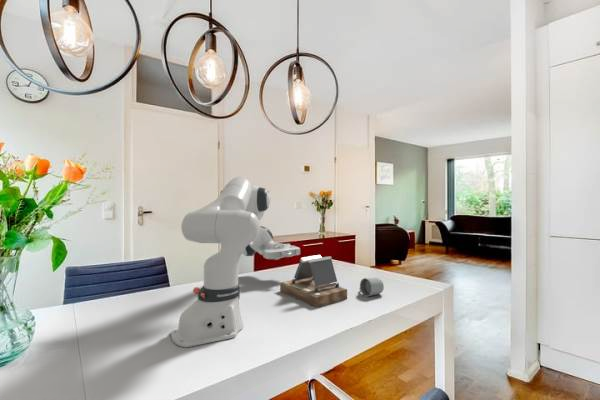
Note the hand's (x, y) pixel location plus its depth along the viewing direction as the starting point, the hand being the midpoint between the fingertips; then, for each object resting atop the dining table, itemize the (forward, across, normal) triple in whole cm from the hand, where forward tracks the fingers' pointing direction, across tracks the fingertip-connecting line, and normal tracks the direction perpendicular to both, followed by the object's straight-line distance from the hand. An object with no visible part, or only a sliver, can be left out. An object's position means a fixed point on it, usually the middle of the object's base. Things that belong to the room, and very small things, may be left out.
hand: (290, 255), depth 150 cm
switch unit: (+20, -2, +14) cm, 24 cm away
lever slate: (+27, 0, +9) cm, 29 cm away
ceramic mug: (+34, +19, +15) cm, 42 cm away
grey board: (+11, 0, +9) cm, 14 cm away
